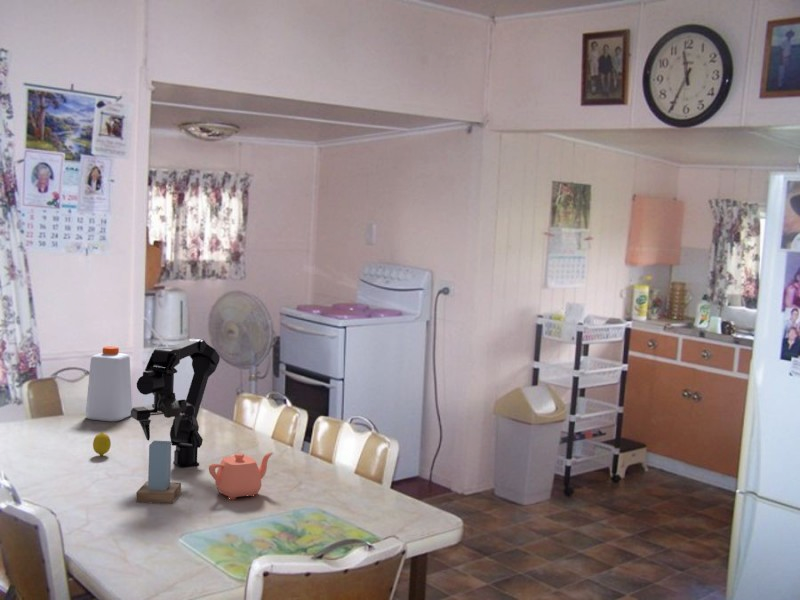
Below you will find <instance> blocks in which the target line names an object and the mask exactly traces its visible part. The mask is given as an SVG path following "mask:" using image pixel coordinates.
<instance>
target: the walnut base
mask: <svg viewBox="0 0 800 600" xmlns="http://www.w3.org/2000/svg"><path fill="white" fill-rule="evenodd" d="M181 488H182V482H173V481H170V486H169V487H168V488H167V489H166V491H165V490H148V480H147V481H145V482H144V484H143V485H142V486H141V487H140V488H139V489H138V490H137V491H136V500H135V501H136V503H137V502H139V503H142V502H144V503H142V504H159V503H164V504H165V505H172V504H173V503H174V502H175V501H176V499H177V498H178V497H179V495H180V494H181V493H182V492H181V490H182V489H181ZM164 504H163V505H164Z"/></svg>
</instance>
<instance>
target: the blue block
mask: <svg viewBox="0 0 800 600" xmlns="http://www.w3.org/2000/svg"><path fill="white" fill-rule="evenodd" d="M171 465H172V443H171V440H153V441H152V442H151V443H150V444H149V445H148V477H147V478H148V479H147V481H148V490H165V491H166V489H167V488H168V487H169V486H170V482H171V470H172V469H171V468H172V466H171Z"/></svg>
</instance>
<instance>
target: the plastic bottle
mask: <svg viewBox="0 0 800 600" xmlns="http://www.w3.org/2000/svg"><path fill="white" fill-rule="evenodd" d="M119 350H120V348H119V347H117V346H112V345H111V346H103V348H102V352H100V353H96V354H94V355H92V356H91V357H90V364H89V365H90V366H89V373H88V385H87V393H86V395H87V397H86V406H85V418H86V419H88V420H91V421H101V422H118V421H122V420H124V419H126V418H128V417H129V418H130V417H131V410H132V409H133V401H132V400H133V398H132V382H131V381H132V378H131V377H132V376H131V358H130V355H129V354H128V353H123V352H122V353H120V351H119Z"/></svg>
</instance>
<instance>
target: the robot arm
mask: <svg viewBox="0 0 800 600" xmlns="http://www.w3.org/2000/svg"><path fill="white" fill-rule="evenodd" d="M187 357H190V359H191V367H192V370H193V371H192V372H193V375H192V379H191V382H190V386H189V389H188V392H187V395H186V399H179V400H177V399H176V393H175V392H174V386H175V385H174V384H175V382H174V381H175V379H174V378H175V375H174V374H177V373H178V370H177V368H175V367H177V366H178V365H179V364H180V363H181V360H182V359H183V360H184V359H185V358H187ZM220 359H221V358H220V355H219V353H218V352H217V350H216V349H215V348H214V347H212V346H211V345H209V344H208V343H207V342H206V341H205V340H204V339H200V338H189V339H188V340H187V341H184V342H182V343H180V344H179V343H178V344H177V345H174V346H171V347H155V349H154V350H153V352H152V353H151V355H150V357H149V360H148V362H147V364H146V367H145V369H144V371H143V372H142V376H140V377H139V378H138V380H137V382H136V389H137V391H138V392H139V393H140V394H142V395H145V396H146V395H150V394H152V395H153V403H152V405H151V407H152V408H146V406H145V407H144V406H138V407H132V410H131V415H130V417H131V418H132V419H134V420H136V421H137V422H139V424H140V426H141V429H142V431H143V434H144V436H145V439H146V440H147V441H148V442H149V441H150V437H151V432H150V431H151V430H150V428H151V427H150V426H151V425H150V424H151V421H152V420H151V419H150V417H151V416H159V415H163V416H164V417H165V418H167V419H170V418H173V417H174V418H173V421H172V425H171V426H170V431H169V438H170V441H171V447H174V446H175V450H174V455H173V459H174V460H173V464H175V465H176V466H177V467H180V468H186V467H194V466H199V465H200V462H198V451H199V450H198V449H199V448H201V446H202V445H203V437H202V436H201V434H200V433H199V428H200V426H199V423H198V415H199V412H200V407H201V405H202V401H203V397H204V393H205V391H206V387H207V384H208V381H209V378H210V376H211V375H213V373H215V372H216V370H217V368H218V365H219V363H220V361H221V360H220Z"/></svg>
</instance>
